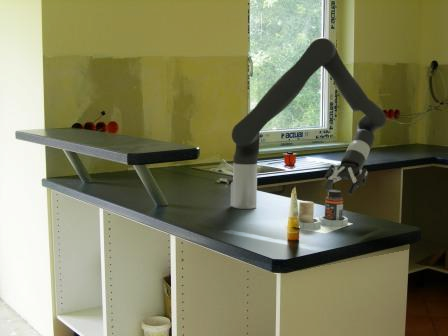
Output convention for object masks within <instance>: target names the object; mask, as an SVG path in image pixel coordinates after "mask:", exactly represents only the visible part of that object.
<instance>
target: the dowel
mask: <svg viewBox="0 0 448 336" xmlns="http://www.w3.org/2000/svg"><path fill="white" fill-rule="evenodd" d="M314 208H315V204H314V202H313V201H308V200H304V201H303V200H302V201H299V202H298V217H299V222H302V223H313V218H314V210H315V209H314Z"/></svg>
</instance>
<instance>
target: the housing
mask: <svg viewBox="0 0 448 336" xmlns="http://www.w3.org/2000/svg"><path fill="white" fill-rule="evenodd" d="M351 225H354V224H353V223H351V222H349V219H348V217H346V216H345V215H344V216H343V215H342V220H327V219H325V214H324V215H321V216H318V217H314V216H313V223H302V222H299V226H300V229H299V230H304V231H309V232H315V233H321V234H328V233H331V232H333V231H337V230H339V229H342V228H345V227H348V226H351ZM287 226H288V225H285V227H286V228H288V227H287Z"/></svg>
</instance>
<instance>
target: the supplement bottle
mask: <svg viewBox="0 0 448 336" xmlns="http://www.w3.org/2000/svg"><path fill="white" fill-rule="evenodd" d="M341 194H342V193H341V190H338V189H331V190H329V192H328V195H327V196H326V197H325V204H324V206H325V207H324V215H325V219H327V220H342V216H343V212H344V211H343V210H344V198H343V197H342V196H341Z"/></svg>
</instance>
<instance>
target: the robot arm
mask: <svg viewBox="0 0 448 336" xmlns="http://www.w3.org/2000/svg"><path fill="white" fill-rule="evenodd" d="M322 67H323V68H324V70H326V72H327V73H328V74H329V76H330V77H331V79H332V80H333V82H334V83H335V85H336V87H337V89H338V91H339V92H340V94H341V96H342V97H343V99H344V100H345V101H346V103H347V104H348V106H349V107H350V108H351V110H352V111H353V112H361V113H363V114H364V115H363V116H361V118H359V121H358V122H357V125H356V130H355V134H354V137H352V140H351V142H350V144H349V145H348V147H347V148H346V151H345V152H344V154H343V157H342V159H341V161H340V164H339V166H335V165H334V164H331V165H330V166H329V168H328V169H327V171H326V173H325V174H324V179H325V180H326V184H325V185H324V188H325V191H326V192H327V193H329V190H332V188H333V186H334V184H335V183H336V182H340V181H341V180H344V181H345V180H346V181H351V180H352V182H351V184H350V186H349V188H348V190H347V193H348V195H349V196H352V195H354V193H355V192H356V190H357V188H358V187H359V186H360V187H364V185H365V183H366V180H367V179H368V175H369V172H368V170H367V168H365V167H364V164H366V161H367V159H368V156H369V154H370V150H371V148H372V146H373V144H374V142H375V135H374V133H375V132H376V131H377V130H380V129H381V128H383V127H384V126H385V125H386V123H387V116H386V114H385V112H384V110H383V109H382V108H381V107H379V106H378V104H376V103H375V102H374V101H373V100H372V99H370V98H369V97H368V95H367V94H366V93H365V91H364V89H362V86H360V84H359V83H358V82H357V81H356V79H355V78H354V77H353V75H352V74H351V73H350V71H349V70H348V68H347V67H346V66H345V64H344V62H343V61H342V58H341V57H340V55H339V53H338V51H337V48H336V45H335V43H334V42H333V41H332V40H331V39H329V38H327V37H317V38H316V39H314V40H313V41H311V43H310V44H309V46H308V47H307V48H306V50H305V51H304V53H303V54H302V55H301V57H299V59H298V60H297V61H296V62H295V63H294V65H292V66H291V67H289V69H288V70H286V72H285V73H283V74H282V76H280V78H278V79H277V80H276V81H275V83H274V84H273V85H272V86H271V87H270V88H269V89H268V90H267V91H266V92H265V94H264V95H263V97H262V98H260V100H259V101H258V103H257V104H256V105H255V106H254V108H253V109H252V110H251V111H250V112H249V113H247V115H245V116H244V117H243V118H242V119H241V120H240V121H239V122H237V124H235V125H234V126H233V129H232V130H231V139H232V141H233V142H234V144H235V151H234V154H233V159H232V161H233V162H232V164H233V170H232V173H233V175H232V181H231V182H230V207H232V208H234V209H241V210H247V209H248V210H249V209H255V208H257V198H258V197H257V196H258V195H257V193H258V192H257V191H258V158H259V154H260V132H261V130H262V129H264V127H265V126H266V125H267V124H268V123H269V122H270V121H271V120H272V119H274V118H275V117H277V115H279V114H280V113H281V112H283V111H284V110H285V109H286V108H287V107H288V106H289V105H290V104H291V103H292V102H293V101H294V100H295V99H296V97H297V96H298V95H299V94H300V92H301V91H302V90H303V89H304V87H305V86H306V84H307V82H308V81H309V79H310V78H311V77H312V76H313V75H314V74H315V73H316V72H317V71H318V70H319V69H320V68H322ZM363 167H364V168H363ZM358 176H359V178H358V180H357V178H356V177H358Z"/></svg>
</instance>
